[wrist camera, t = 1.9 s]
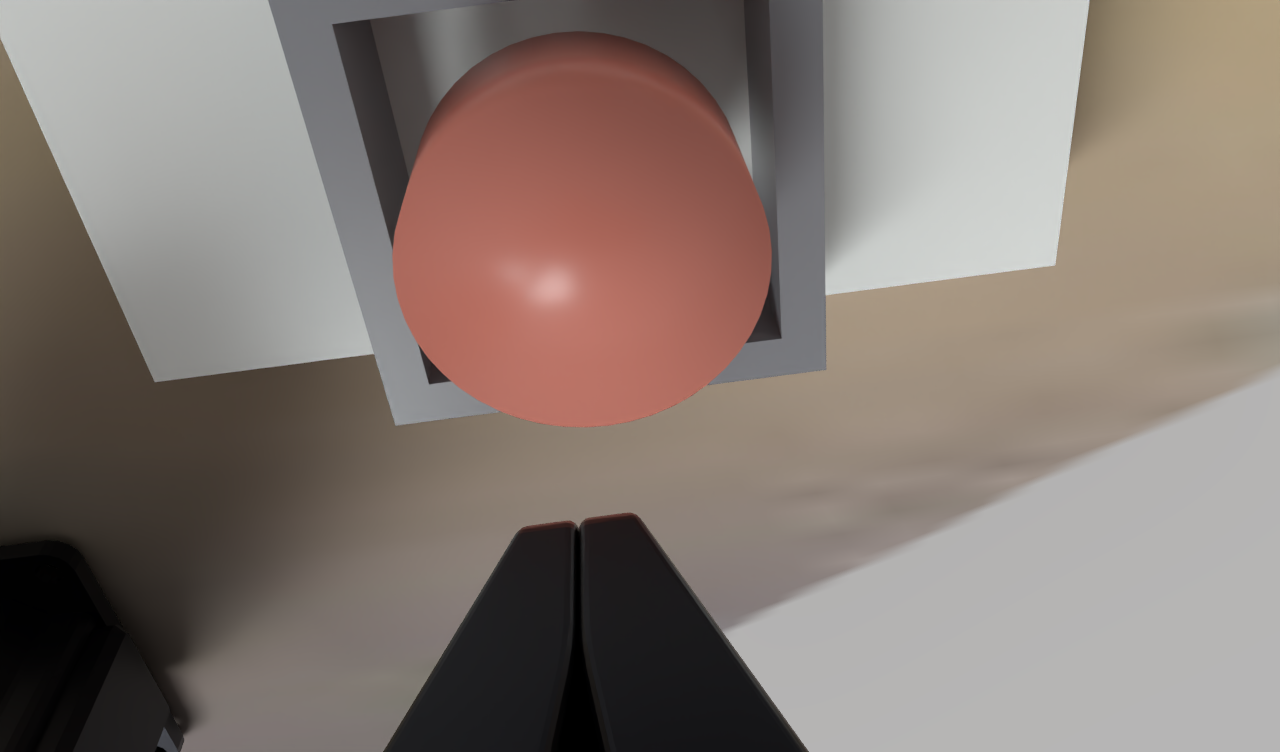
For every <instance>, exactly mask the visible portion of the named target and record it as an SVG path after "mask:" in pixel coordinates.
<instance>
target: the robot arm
mask: <svg viewBox="0 0 1280 752" xmlns="http://www.w3.org/2000/svg"><path fill="white" fill-rule="evenodd" d="M48 565H53V566H55V567H57V568H59V569H55V568H53V567H50V566H48ZM183 743H184V738H183V734H182V732H181V731H180V729H179V727H178V725H177V724H176V722H175V720H174V718H173V716H172V715H171V713H170V708H169V706H168V704H167V702H166V700H165V698H164V697H163V695H162V693H161V691H160V689H159V688H158V686H157V684H156V682H155V681H154V679H153V677H152V675H151V673H150V672H149V670H148V668H147V666H146V664H145V663H144V661H143V659H142V657H141V655H140V654H139V652H138V650H137V648H136V646H135V645H134V643H133V641H132V639H131V637H130V636H129V634H128V633H127V632H126V631H125V630H124V629H123V627H122V625H121V623H120V622H119V620H118V618H117V616H116V614H115V613H114V611H113V609H112V607H111V606H110V604H109V602H108V600H107V598H106V597H105V595H104V593H103V591H102V589H101V588H100V586H99V584H98V582H97V580H96V579H95V577H94V575H93V573H92V572H91V570H90V568H89V566H88V564H87V563H86V561H85V559H84V557H83V556H82V555H81V553H80V552H79V551H78V550H77V549H76V548H74V547H72V546H71V545H69V544H67V543H63V542H60V541H39V542H31V543H24V544H16V545H8V546H1V547H0V752H180V751H181V748H182V745H183ZM383 752H809V751H808V750H807V748H806V747H805V746H804V744H803V743H802V742H801V740H800V739H799V737H798V736H797V735H796V733H795V732H794V730H793V729H792V728H791V726H790V725H789V724H788V722H787V721H786V719H785V718H784V717H783V715H782V714H781V712H780V711H779V710H778V708H777V707H776V705H775V704H774V703H773V701H772V700H771V699H770V697H769V696H768V694H767V693H766V692H765V690H764V689H763V687H762V686H761V685H760V683H759V682H758V681H757V679H756V678H755V676H754V675H753V674H752V672H751V671H750V669H749V668H748V667H747V665H746V664H745V663H744V661H743V660H742V658H741V657H740V656H739V654H738V653H737V651H736V650H735V649H734V647H733V646H732V645H731V643H730V642H729V640H728V639H727V638H726V636H725V635H724V633H723V632H722V631H721V629H720V628H719V626H718V625H717V624H716V622H715V621H714V619H713V618H712V617H711V615H710V614H709V613H708V611H707V610H706V608H705V607H704V606H703V604H702V603H701V601H700V600H699V599H698V597H697V596H696V595H695V593H694V592H693V590H692V589H691V588H690V586H689V585H688V583H687V582H686V581H685V579H684V578H683V576H682V575H681V574H680V572H679V571H678V570H677V568H676V567H675V565H674V564H673V563H672V561H671V560H670V558H669V557H668V556H667V554H666V553H665V552H664V550H663V549H662V547H661V546H660V545H659V543H658V542H657V540H656V539H655V538H654V536H653V535H652V533H651V532H650V531H649V529H648V528H647V527H646V525H645V524H644V522H643V521H642V520H641V519H640V518H639V517H638V516H637V515H636V514H633V513H622V514H614V515H607V516H599V517H592V518H587V519H585V520H584V521H583V522H582V523H581V525H580V527H579V528H578V526H577V525H576V524H575V523H574V522H572V521H562V522H554V523H546V524H539V525H531V526H526V527H523V528H522V529H520V530H519V531H518V532H517V533H516V535H515V536H514V538H513V539H512V541H511V543H510V544H509V546H508V548H507V549H506V551H505V553H504V554H503V556H502V557H501V559H500V561H499V562H498V564H497V566H496V567H495V569H494V571H493V572H492V574H491V576H490V577H489V579H488V581H487V582H486V584H485V585H484V587H483V589H482V590H481V592H480V594H479V595H478V597H477V599H476V600H475V602H474V604H473V605H472V607H471V608H470V610H469V612H468V613H467V615H466V617H465V618H464V620H463V622H462V623H461V625H460V627H459V628H458V630H457V631H456V633H455V635H454V636H453V638H452V640H451V641H450V643H449V645H448V646H447V648H446V650H445V651H444V653H443V654H442V656H441V658H440V659H439V661H438V663H437V664H436V666H435V668H434V669H433V671H432V673H431V674H430V676H429V677H428V679H427V681H426V682H425V684H424V686H423V687H422V689H421V691H420V692H419V694H418V696H417V697H416V699H415V701H414V702H413V704H412V705H411V707H410V709H409V710H408V712H407V714H406V715H405V717H404V719H403V720H402V722H401V724H400V725H399V727H398V728H397V730H396V732H395V733H394V735H393V737H392V738H391V740H390V742H389V743H388V745H387V747H386V748H385V750H384V751H383Z"/></svg>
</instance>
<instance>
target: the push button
mask: <svg viewBox="0 0 1280 752" xmlns="http://www.w3.org/2000/svg"><path fill="white" fill-rule="evenodd" d="M392 259H393V278H394V283H395V288H396V293H397V298H398V302H399V304H400V307H401V310H402V313H403V316H404V319H405V321H406V323H407V325H408V327H409V329H410V331H411V333H412V335H413V336H414V338H415V340H416V342H417V343H418V344H419V346H420V347H421V349H422V350H423V351H424V353H425V354H426V356H427V357H428V358H429V359H430V361H431V362H432V363H433V364H434V365H435V366H436V367H437V368H438V369H439V370H440V371H441V372H442V374H444V375H445V376H446V377H447V378H448V379H449V380H451V381H452V382H453V383H454V384H455V385H457V386H458V387H459V388H460V389H462V390H463V391H465V392H466V393H468V394H469V395H471V396H472V397H474V398H475V399H477V400H478V401H480V402H482V403H484V404H486V405H488V406H490V407H492V408H494V409H496V410H498V411H501V412H504V413H507V414H509V415H512V416H515V417H518V418H521V419H525V420H529V421H533V422H537V423H541V424H548V425H555V426H563V427H596V426H609V425H614V424H619V423H625V422H630V421H634V420H637V419H640V418H644V417H647V416H651V415H653V414H656V413H658V412H660V411H663V410H665V409H668V408H670V407H672V406H674V405H676V404H678V403H679V402H681V401H683V400H685V399H687V398H688V397H690V396H692V395H693V394H695V393H696V392H697V391H699V390H700V389H702V388H703V387H704V386H706V385H707V384H709V383H710V382H711V381H712V380H713V379H714V378H715V377H716V376H718V375H719V374H720V373H721V372H722V371H723V370H724V369H725V368H726V367H727V366H728V365H729V364H730V362H731V361H732V360H733V359H734V358H735V357H736V355H737V354H738V353H739V352H740V350H741V349H742V347H743V346H744V344H745V343H746V341H747V340H748V338H749V337H750V335H751V334H752V331H753V329H754V327H755V325H756V323H757V321H758V319H759V317H760V315H761V312H762V309H763V306H764V303H765V300H766V297H767V293H768V288H769V282H770V276H771V262H772V248H771V239H770V230H769V226H768V222H767V218H766V215H765V211H764V207H763V205H762V202H761V200H760V197H759V195H758V192H757V190H756V187H755V185H754V183H753V180H752V178H751V175H750V173H749V170H748V168H747V165H746V163H745V160H744V158H743V156H742V153H741V151H740V148H739V146H738V143H737V141H736V138H735V136H734V134H733V131H732V129H731V127H730V124H729V122H728V120H727V118H726V116H725V114H724V113H723V111H722V109H721V108H720V106H719V105H718V103H717V101H716V100H715V99H714V97H713V96H712V95H711V94H710V92H709V91H708V90H707V89H706V88H705V86H704V85H703V84H702V83H701V82H700V81H699V80H698V79H697V78H696V77H695V76H693V75H692V74H691V73H690V72H689V71H688V70H687V69H686V68H684V67H683V66H682V65H680V64H679V63H677V62H676V61H674V60H673V59H671V58H670V57H669V56H667V55H665V54H663V53H661V52H659V51H657V50H655V49H653V48H651V47H649V46H647V45H645V44H642V43H639V42H636V41H633V40H631V39H628V38H625V37H620V36H615V35H610V34H605V33H596V32H582V31H575V32H559V33H552V34H546V35H541V36H536V37H532V38H529V39H526V40H523V41H520V42H517V43H514V44H511V45H509V46H507V47H505V48H503V49H501V50H499V51H497V52H495V53H493V54H491V55H489V56H488V57H486V58H485V59H484V60H482V61H481V62H479V63H478V64H476V65H475V66H473V67H472V68H471V69H470V70H468V71H467V72H466V73H465V74H464V75H463V76H462V77H461V78H460V79H459V80H458V81H457V82H455V83H454V85H453V86H452V87H451V88H450V90H449V91H448V92H447V93H446V94H445V96H444V97H443V98H442V99H441V101H440V102H439V104H438V106H437V107H436V109H435V111H434V112H433V114H432V116H431V117H430V119H429V121H428V124H427V126H426V128H425V131H424V133H423V135H422V138H421V141H420V145H419V148H418V151H417V155H416V158H415V162H414V165H413V169H412V172H411V176H410V179H409V182H408V186H407V189H406V193H405V196H404V200H403V203H402V207H401V210H400V214H399V218H398V222H397V225H396V229H395V234H394V244H393V254H392Z"/></svg>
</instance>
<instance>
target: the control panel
mask: <svg viewBox="0 0 1280 752" xmlns="http://www.w3.org/2000/svg"><path fill="white" fill-rule="evenodd" d="M1089 2H1090V0H0V38H1V41H2V43H3V45H4V47H5V50H6V52H7V54H8V56H9V59H10V61H11V63H12V65H13V67H14V70H15V72H16V74H17V76H18V79H19V81H20V83H21V85H22V88H23V90H24V92H25V94H26V96H27V99H28V101H29V103H30V105H31V108H32V110H33V112H34V114H35V117H36V119H37V121H38V123H39V125H40V128H41V130H42V132H43V134H44V137H45V139H46V141H47V143H48V145H49V148H50V150H51V152H52V154H53V157H54V159H55V161H56V163H57V166H58V168H59V170H60V172H61V174H62V177H63V179H64V181H65V183H66V186H67V188H68V190H69V192H70V195H71V197H72V199H73V201H74V203H75V206H76V208H77V210H78V212H79V215H80V217H81V219H82V221H83V224H84V226H85V228H86V230H87V232H88V235H89V237H90V239H91V241H92V244H93V246H94V248H95V250H96V252H97V255H98V257H99V259H100V261H101V264H102V266H103V268H104V270H105V273H106V275H107V277H108V279H109V281H110V284H111V286H112V288H113V290H114V293H115V295H116V297H117V299H118V302H119V304H120V306H121V308H122V310H123V313H124V315H125V317H126V319H127V322H128V324H129V326H130V328H131V331H132V333H133V335H134V337H135V339H136V342H137V344H138V346H139V348H140V351H141V353H142V355H143V357H144V359H145V362H146V364H147V366H148V368H149V371H150V373H151V375H152V377H153V380H154V382H160V381H168V380H176V379H184V378H191V377H199V376H207V375H214V374H222V373H230V372H237V371H245V370H253V369H261V368H268V367H276V366H284V365H291V364H299V363H307V362H314V361H322V360H330V359H338V358H345V357H353V356H361V355H368V354H374V356H375V359H376V362H377V366H378V369H379V372H380V376H381V379H382V382H383V386H384V389H385V392H386V396H387V399H388V402H389V406H390V409H391V412H392V416H393V419H394V422H395V426H396V425H404V424H411V423H419V422H427V421H435V420H442V419H450V418H458V417H465V416H473V415H481V414H489V413H496V412H501V411H498V410H496V409H494V408H492V407H490V406H488V405H486V404H484V403H482V402H480V401H478V400H477V399H475V398H474V397H472V396H471V395H469V394H468V393H466V392H465V391H463V390H462V389H460V388H459V387H458V386H457V385H455V384H454V383H453V382H452V381H451V380H449V379H448V378H447V377H446V376H445V375H444V374H442V372H441V371H440V370H439V369H438V368H437V367H436V366H435V365H434V364H433V363H432V362H431V361H430V359H429V358H428V357H427V356H426V354H425V353H424V351H423V350H422V349H421V347H420V346H419V344H418V343H417V342H416V340H415V338H414V336H413V335H412V333H411V331H410V329H409V327H408V325H407V323H406V321H405V319H404V316H403V313H402V310H401V307H400V304H399V302H398V298H397V293H396V288H395V283H394V278H393V259H392V254H393V244H394V234H395V229H396V225H397V222H398V218H399V214H400V210H401V207H402V203H403V200H404V196H405V193H406V189H407V186H408V182H409V179H410V176H411V172H412V169H413V165H414V162H415V158H416V155H417V151H418V148H419V145H420V141H421V138H422V135H423V133H424V131H425V128H426V126H427V124H428V121H429V119H430V117H431V116H432V114H433V112H434V111H435V109H436V107H437V106H438V104H439V102H440V101H441V99H442V98H443V97H444V96H445V94H446V93H447V92H448V91H449V90H450V88H451V87H452V86H453V85H454V83H455V82H457V81H458V80H459V79H460V78H461V77H462V76H463V75H464V74H465V73H466V72H467V71H468V70H470V69H471V68H472V67H473V66H475V65H476V64H478V63H479V62H481V61H482V60H484V59H485V58H486V57H488V56H489V55H491V54H493V53H495V52H497V51H499V50H501V49H503V48H505V47H507V46H509V45H511V44H514V43H517V42H520V41H523V40H526V39H529V38H532V37H536V36H541V35H546V34H552V33H559V32H575V31H582V32H596V33H605V34H610V35H615V36H620V37H625V38H628V39H631V40H633V41H636V42H639V43H642V44H645V45H647V46H649V47H651V48H653V49H655V50H657V51H659V52H661V53H663V54H665V55H667V56H669V57H670V58H671V59H673V60H674V61H676V62H677V63H679V64H680V65H682V66H683V67H684V68H686V69H687V70H688V71H689V72H690V73H691V74H692V75H693V76H695V77H696V78H697V79H698V80H699V81H700V82H701V83H702V84H703V85H704V86H705V88H706V89H707V90H708V91H709V92H710V94H711V95H712V96H713V97H714V99H715V100H716V101H717V103H718V105H719V106H720V108H721V109H722V111H723V113H724V114H725V116H726V118H727V120H728V122H729V124H730V127H731V129H732V131H733V134H734V136H735V138H736V141H737V143H738V146H739V148H740V151H741V153H742V156H743V158H744V160H745V163H746V165H747V168H748V170H749V173H750V175H751V178H752V180H753V183H754V185H755V187H756V190H757V192H758V195H759V197H760V200H761V202H762V205H763V207H764V211H765V215H766V218H767V222H768V226H769V230H770V239H771V248H772V262H771V276H770V282H769V288H768V293H767V297H766V300H765V303H764V306H763V309H762V312H761V315H760V317H759V319H758V321H757V323H756V325H755V327H754V329H753V331H752V334H751V335H750V337H749V338H748V340H747V341H746V343H745V344H744V346H743V347H742V349H741V350H740V352H739V353H738V354H737V355H736V357H735V358H734V359H733V360H732V361H731V362H730V364H729V365H728V366H727V367H726V368H725V369H724V370H723V371H722V372H721V373H720V374H719V375H718V376H716V377H715V378H714V379H713V380H712V381H711V382H710V383H709V384H707V385H712V384H720V383H727V382H735V381H743V380H751V379H758V378H766V377H774V376H781V375H789V374H797V373H804V372H812V371H820V370H826V297H825V295H830V294H838V293H846V292H853V291H861V290H869V289H876V288H884V287H892V286H900V285H907V284H915V283H923V282H930V281H938V280H946V279H953V278H961V277H969V276H977V275H984V274H992V273H1000V272H1007V271H1015V270H1023V269H1030V268H1038V267H1046V266H1054V265H1055V263H1056V255H1057V247H1058V240H1059V232H1060V224H1061V217H1062V209H1063V201H1064V194H1065V186H1066V178H1067V171H1068V163H1069V155H1070V147H1071V140H1072V132H1073V124H1074V117H1075V109H1076V101H1077V94H1078V86H1079V78H1080V71H1081V63H1082V55H1083V48H1084V40H1085V32H1086V25H1087V17H1088V9H1089Z"/></svg>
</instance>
